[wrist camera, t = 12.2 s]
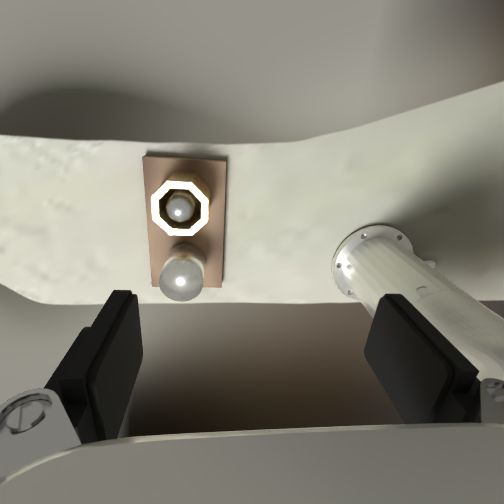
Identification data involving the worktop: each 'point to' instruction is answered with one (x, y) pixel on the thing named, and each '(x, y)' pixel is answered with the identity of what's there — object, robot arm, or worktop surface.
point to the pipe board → (210, 232)
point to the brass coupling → (161, 198)
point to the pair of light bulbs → (182, 254)
